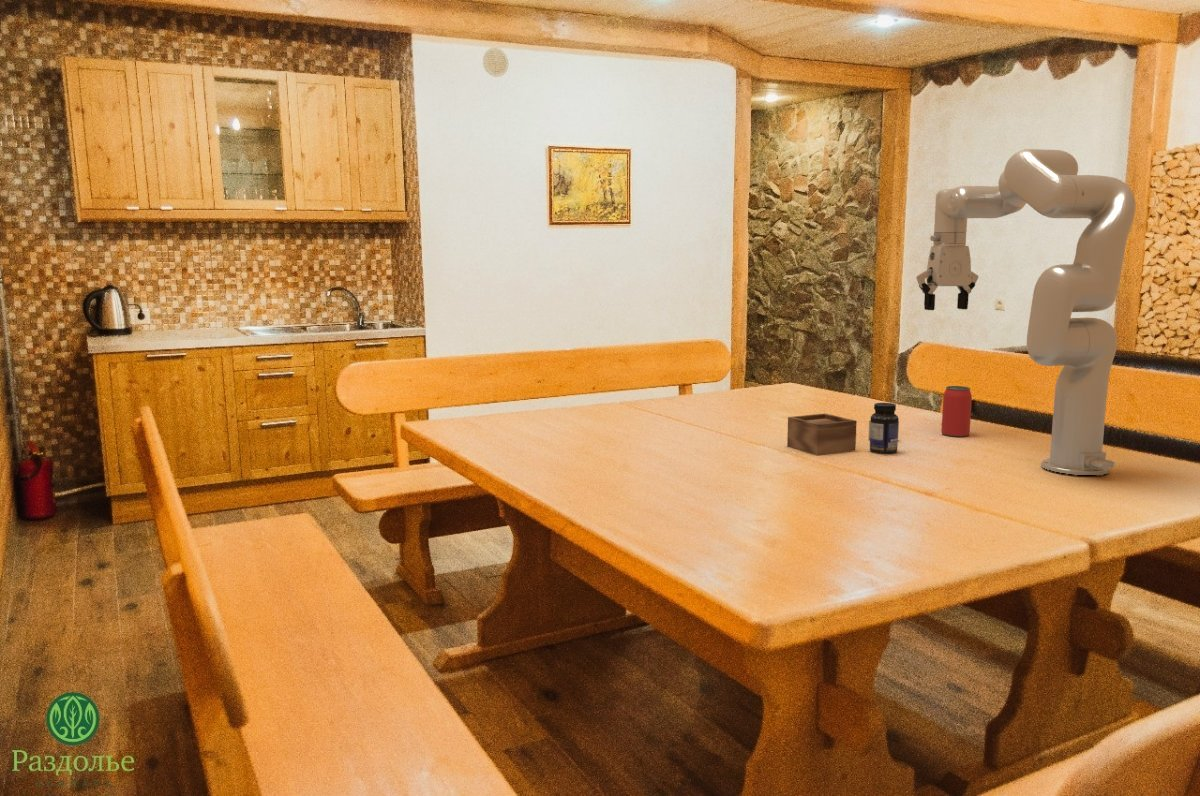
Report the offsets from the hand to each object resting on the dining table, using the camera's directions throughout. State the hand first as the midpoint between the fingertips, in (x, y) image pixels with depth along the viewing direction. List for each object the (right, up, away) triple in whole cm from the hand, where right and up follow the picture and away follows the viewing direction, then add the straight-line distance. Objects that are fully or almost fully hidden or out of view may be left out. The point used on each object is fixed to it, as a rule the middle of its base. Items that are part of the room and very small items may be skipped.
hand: (945, 309), depth 224 cm
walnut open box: (-35, -34, -16) cm, 51 cm away
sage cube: (-18, -33, -7) cm, 38 cm away
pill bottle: (-22, -35, -19) cm, 45 cm away
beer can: (+2, -32, -1) cm, 32 cm away
